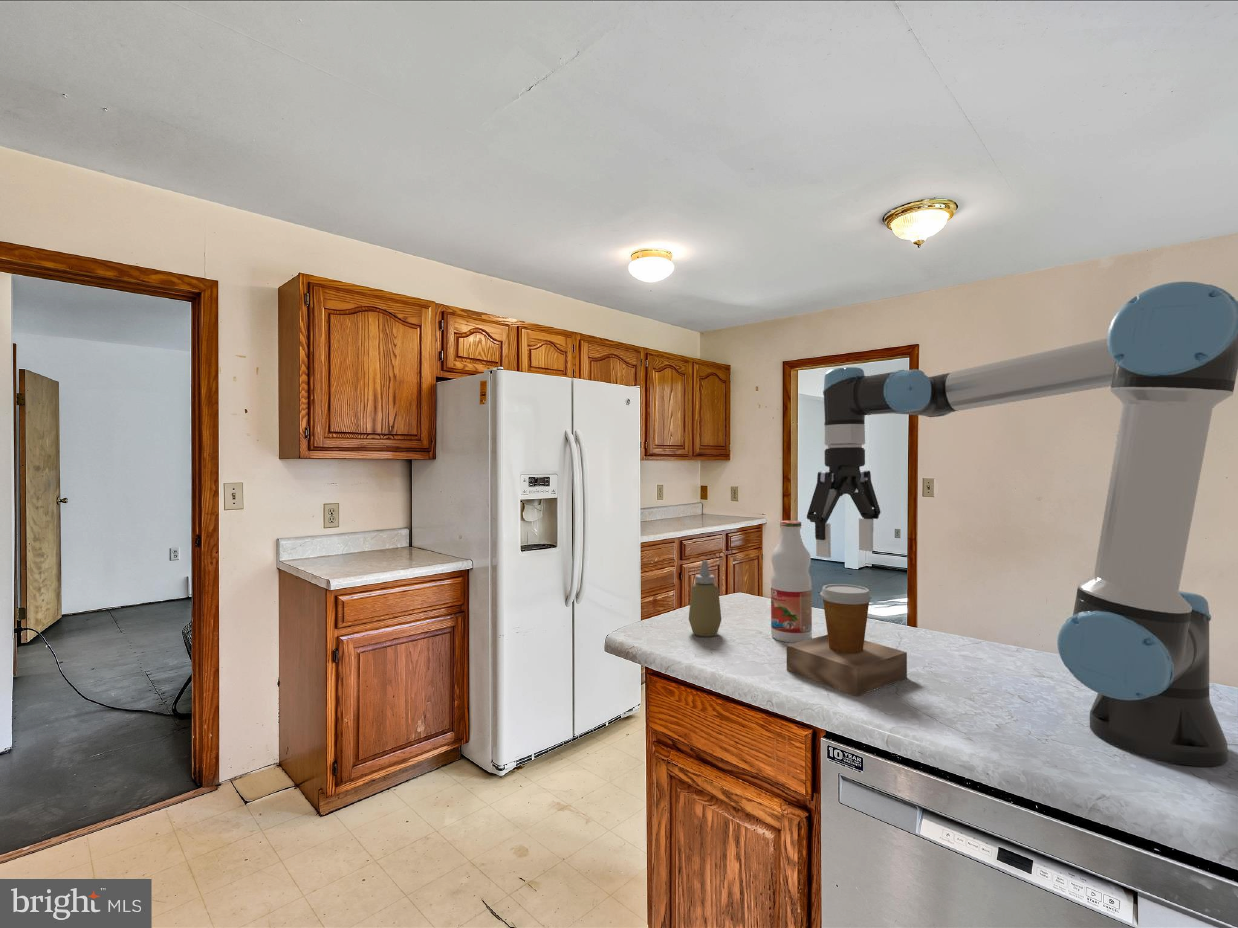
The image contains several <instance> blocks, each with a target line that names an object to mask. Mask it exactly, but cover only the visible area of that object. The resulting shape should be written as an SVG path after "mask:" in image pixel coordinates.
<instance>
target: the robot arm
mask: <svg viewBox="0 0 1238 928" xmlns="http://www.w3.org/2000/svg"><path fill="white" fill-rule="evenodd" d="M1237 376H1238V300H1237V299H1236V298H1235V297H1234V296H1232V294H1231V293H1229V291H1227V290H1225V289H1224V288H1222V287H1219V286H1216V285H1214V284H1206V283H1201V282H1197V281H1173V282H1166V283H1164V284H1160V285H1155V286H1153V287H1151V288H1148V289H1146V290H1144V291H1141V292H1140V293H1138V294H1137V295H1135V296H1133V297H1132V298H1131V299H1129V300H1128V301H1127V302H1126V303H1124V304H1123V305H1122V306H1121V308H1119V310H1118V311H1116V313H1115V315H1114V316H1113V318H1112V319H1111V322H1110V324H1109V327H1108V329H1107V337H1106V338H1105V337H1104V338H1102V339H1096V340H1091V341H1087V342H1083V343H1078V344H1073V345H1069V346H1065V347H1060V348H1056V349H1050V350H1046V351H1042V352H1037V353H1032V354H1028V355H1024V356H1019V357H1015V358H1010V359H1009V358H1008V359H1005V360H1000V361H997V362H992V363H986V364H983V365H978V366H973V367H970V368H969V367H968V368H965V369H960V370H959V369H958V370H956V371H952V372H949V373H948V372H947V373H943V374H937V375H934V376H927V375H926V374H925V372H924V371H922V370H920V369H898V370H897V371H892V372H885V373H879V374H873V375H865V370H863V368H861V367H856V366H855V367H853V366H851V367H849V366H848V367H847V366H846V367H839V368H832V369H829V370H828V371H826V373H825V374H824V383H823V385H824V386H823V390H822V395H823V409H824V423H823V424H824V445H825V446H826V448H825V450H824V466H825V467H828V468H829V469H828V471H820V470H819V471H818V472H817V476H816V478H817V479H816V480H817V481H816V484H815V488H814V491H813V495H812V498H811V501H810V505H809V508H808V510H807V514H806V518H807V520H809V522H810V523H814V525H815V526H814V537H815V542H816V544H815V546H816V547H815V549H816V554H815V555H816V557H818V558H819V557H820V558H828V559H830V558H832V555H831V553H832V551H831V548H832V547H831V545H832V544H831V542H832V540H831V523H830V522H828V521H829V519H830V517H831V515H832V513H833V511H834V510H835V508H836V505H837V503H838V501H839V500H840V497H842V496H843V495H848V496H850V498H851V500H852V502H853V503H854V505H855V507H856V509H857V511H858V513H859V515H860V516H861V517H862V518H861V517H860V518H858V550H859V551H863V552H864V551H866V552H874V520H878V519H879V517H880V515H881V512H882V511H881V507H880V505H879V502H878V498H877V495H876V492H875V490H874V489H875V488H874V487H873V483H872V474H871V471H870V470H861V467H864V466H865V465H866V449H865V448H864V447H863V446H864V445H865V444H866V428H865V427H866V425H865V418H866V416H872V415H887V414H895V415H896V414H897V415H909V416H910V415H911V416H912V415H913V416H922V417H928V418H935V417H936V418H937V417H944V416H947V415H949V414H951V413H956V412H961V411H965V410H972V409H978V408H984V407H989V406H991V407H992V406H998V405H1003V404H1009V403H1015V402H1016V403H1017V402H1021V401H1028V400H1035V399H1040V398H1048V397H1054V396H1057V395H1058V396H1059V395H1065V394H1071V393H1077V392H1084V391H1089V390H1096V389H1097V390H1098V389H1101V388H1108V387H1110V392H1111V393H1112V395H1113V394H1114V396H1115V397H1116V398H1117V399H1119V400H1120V402H1121V403H1122V406H1121V411H1120V413H1121V414H1120V419H1119V425H1118V431H1117V436H1116V442H1115V443H1116V444H1115V448H1114V453H1113V460H1112V466H1111V471H1110V478H1109V483H1108V484H1109V485H1108V490H1107V495H1106V501H1105V508H1104V512H1103V519H1102V526H1101V531H1100V537H1099V543H1098V549H1097V555H1096V560H1095V566H1094V572H1093V574H1092V575H1091V576H1090V577H1088V578H1086V579H1084V580H1081V581H1080V582H1079V583H1078V585H1077V590H1076V596H1075V600H1074V601H1075V602H1074V605H1073V607H1074V608H1073V613H1072V616H1071V617H1068V618H1067V619H1066V620H1065V623H1063V624H1062V626H1061V627H1060V629H1059V632H1058V635H1057V641H1056V642H1057V652H1058V654H1059V657H1060V659H1061V661H1062V663H1063V664H1064V666H1065V668H1067V670H1068V671H1069V673H1071V674H1072V676H1073V677H1074V678H1075V679H1076V681H1078V682H1079V683H1081V684H1082V685H1084V686H1085V687H1086V688H1088V689H1089V690H1091V691H1094V692H1095V693H1097V695H1096V696H1095V698H1094V702H1093V703H1092V706H1091V709H1090V711H1089V729H1090V730H1091V732H1092V733H1093V734H1095V735H1096V736H1097V737H1099V738H1100V739H1102V740H1104V741H1105V742H1107V743H1109V744H1110V745H1113V746H1115V747H1117V748H1120V749H1122V750H1125V751H1128V752H1130V753H1133V754H1136V755H1139V756H1142V757H1146V758H1149V759H1153V760H1156V761H1157V760H1158V761H1161V762H1166V763H1171V764H1177V765H1183V766H1184V765H1185V766H1192V767H1193V766H1194V767H1214V766H1216V767H1217V766H1220V765H1223V764H1225V763H1226V762H1227V761H1228V758H1229V756H1228V742H1227V738H1226V736H1225V734H1224V731H1223V729H1222V726H1221V724H1220V722H1219V719H1218V717H1217V715H1216V712H1215V710H1214V708H1213V706H1212V703H1211V699H1210V622H1211V620H1212V616H1211V613H1210V606H1209V602H1208V600H1207V599H1206V598H1205V597H1204V596H1202V595H1200V594H1197V593H1195V592H1194V593H1193V592H1188V591H1180V585H1181V580H1182V574H1183V569H1184V563H1185V557H1186V552H1187V547H1188V542H1189V539H1190V538H1189V536H1190V532H1191V525H1192V521H1193V516H1194V511H1195V506H1196V505H1195V504H1196V501H1197V494H1198V490H1199V489H1198V488H1199V482H1200V477H1201V474H1202V473H1201V472H1202V469H1203V462H1204V458H1205V451H1206V446H1207V441H1208V435H1209V430H1210V426H1211V425H1210V424H1211V419H1212V414H1213V409H1214V408H1215V407H1216V406H1217V405H1219V404H1220V403H1221V402H1223V401H1225V400H1226V399H1228V398H1230V397H1232V396H1233V395H1234V391H1235V390H1234V389H1235V384H1236V380H1237Z"/></svg>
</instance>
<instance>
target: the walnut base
mask: <svg viewBox="0 0 1238 928" xmlns="http://www.w3.org/2000/svg"><path fill="white" fill-rule="evenodd" d="M786 671H789V672H791V673H794V674H796V675H799V676H801V677H805V678H807V679H810V680H813V681H815V682H818V683H821V684H823V685H825V686H828V687H832V688H834V689H837V690H839V691H841V692H845V693H847V694H849V695H852V696H855V697H859V696H862V695H864V694H867V693H869V692H868V691H870V692H872V690H873V691H875V690H878V689H880V687H881V688H884V687H886V686H888V685H891V684H894V683H897V682H900V681H903V680H904V679H907V678H908V651H904V650H902V649H901V650H900V649H897V648H893V647H890V646H887V645H882V644H879V643H876V642H872V641H868V640H865V639H864V646H863V651H862V652H860V653H854V654H848V653H841V652H837V651H834V650H832V649H830V648H829V641H828V634H825V635H820V636H817V637H813V638H811V639H809V640H805V641H801V642H797V643H790V644H787V645H786ZM877 688H878V689H877ZM874 689H875V690H874ZM861 694H862V695H861Z"/></svg>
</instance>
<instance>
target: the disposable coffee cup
mask: <svg viewBox="0 0 1238 928" xmlns="http://www.w3.org/2000/svg"><path fill="white" fill-rule="evenodd" d="M870 593H871V592H870V590H869V588H866V587H864V586H860V585H857V584H856V585H855V584H848V583H846V584H845V583H831V584H826V585H823V586H822V589H821V591H820V592H819V594H820V596H821V598H822V601H823V609H824V611H823V612H824V616H825V624H826V626H825V627H826V635H828V641H829V648H830V649H832V650H834V651H837V652H841V653H848V654H854V653H860V652H862V651H863V646H864V640H865V638H866V637H865V635H866V629H867V621H868V613H869V607H870V603H871V599H872V597H873V596H872V595H871V594H870Z"/></svg>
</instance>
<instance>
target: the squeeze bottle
mask: <svg viewBox="0 0 1238 928" xmlns="http://www.w3.org/2000/svg"><path fill="white" fill-rule="evenodd" d="M709 568H710V567H709V562H708V560H702V561H701V566H700V571H699V574H696V575H695V580H694V581H695V583H693V584H692V585H691V591H690V599H689V600H690V602H689V610H688V611H689V612H688V621H689V622H688V623H690V627H691V631H692V633H693V634H694V635H695V636H699V637H706V638H707V637H714V636H716V635H718V633H719V629H720V626H721V623H722V613H721V611H722V610H721V603H720V602H721V600H720V593H719V592H720V591H719V586H718V585H717V584H716V583H715V575H714V574H711V573H710V569H709Z"/></svg>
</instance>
